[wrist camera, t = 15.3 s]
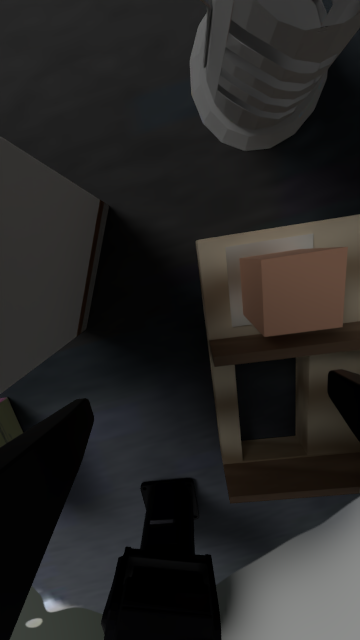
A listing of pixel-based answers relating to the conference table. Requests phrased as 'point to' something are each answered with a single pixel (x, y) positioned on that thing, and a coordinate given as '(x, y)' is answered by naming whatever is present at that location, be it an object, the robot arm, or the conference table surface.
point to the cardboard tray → (308, 347)
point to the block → (294, 290)
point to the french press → (265, 65)
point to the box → (8, 422)
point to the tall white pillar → (43, 261)
